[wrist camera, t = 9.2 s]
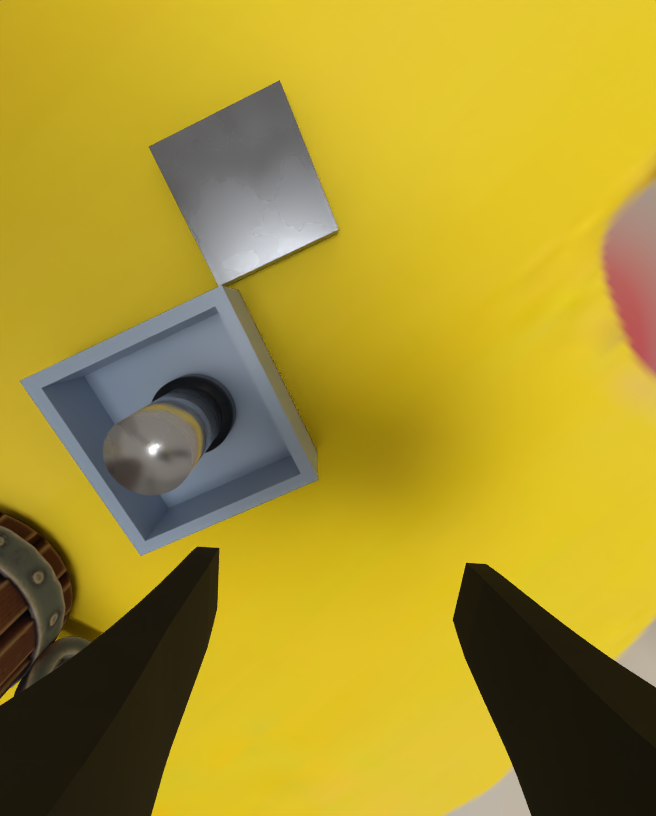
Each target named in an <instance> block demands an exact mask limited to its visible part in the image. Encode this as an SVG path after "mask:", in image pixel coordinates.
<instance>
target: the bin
mask: <svg viewBox="0 0 656 816" xmlns="http://www.w3.org/2000/svg"><path fill="white" fill-rule="evenodd" d="M187 374H203V375H207V376H210V377H213V378H214V379H216V380H218V381H219V382H221V383H222V384H223V385H224V386H225V387H226V388H227V389H228V390H229V392H230V393H231V395H232V397H233V399H234V402H235V406H236V419H235V423H234V425H233V427H232V429H231V431H230V433H229V434H228V436H227V437H226V439H225V440H224V441H223V442H222V443H221V444H220V445H219V446H218V447H217V448H215V449H214V450H212V451H209V452H207V453H204V454H203V456H202V457H201V458H200V460H199V461H198V463H197V464H196V465H195V467H194V468H193V469H192V471H191V472H190V473H189V475H188V476H187V478H186V479H185V480H184V482H183V483H182V484H181V485H180V486H178V487H177V488H176V489H174V490H172V491H170V492H168V493H165V494H161V495H143V494H138V493H135V492H133V491H130V490H128V489H126V488H125V487H123V486H122V485H120V484H119V483H118V482H117V481H116V480H115V479H114V478H113V477H112V476H111V474H110V473H109V471H108V469H107V467H106V465H105V462H104V458H103V444H104V440H105V438H106V435H107V433H108V432H109V430H110V429H111V428H112V427H113V426H114V425H115V424H116V423H118V422H119V421H121V420H123V419H124V418H126V417H128V416H130V415H131V414H133V413H135V412H136V411H138V410H140V409H142V408H143V407H145V406H147V405H148V404H150V403H151V402H152V400H153V398H154V396H155V394H156V393H157V391H158V390H159V389H160V388H161V387H162V386H164V385H165V384H167V383H168V382H170V381H172V380H174V379H176V378H178V377H181V376H183V375H187ZM20 382H21V384H22V385H23V387H24V388H25V390H26V391H27V392H28V394H29V395H30V397H31V398H32V400H33V401H34V403H35V404H36V405H37V407H38V408H39V410H40V411H41V413H42V414H43V416H44V417H45V418H46V420H47V421H48V423H49V424H50V426H51V427H52V429H53V430H54V431H55V433H56V434H57V436H58V437H59V439H60V440H61V441H62V443H63V444H64V446H65V447H66V449H67V450H68V452H69V453H70V454H71V456H72V457H73V459H74V460H75V462H76V463H77V465H78V466H79V467H80V469H81V470H82V472H83V473H84V475H85V476H86V478H87V479H88V480H89V482H90V483H91V485H92V486H93V488H94V489H95V491H96V492H97V493H98V495H99V496H100V498H101V499H102V501H103V502H104V504H105V505H106V506H107V508H108V509H109V511H110V512H111V514H112V515H113V517H114V518H115V519H116V521H117V522H118V524H119V525H120V527H121V528H122V530H123V531H124V532H125V534H126V535H127V537H128V538H129V540H130V541H131V543H132V544H133V545H134V547H135V548H136V550H137V551H138V553H139V554H140V555H141V556H142V555H144V554H146V553H149V552H151V551H153V550H156V549H158V548H160V547H163V546H165V545H167V544H170V543H172V542H174V541H177V540H179V539H181V538H184V537H186V536H188V535H191V534H193V533H195V532H198V531H200V530H202V529H205V528H207V527H209V526H211V525H214V524H216V523H218V522H221V521H223V520H225V519H228V518H230V517H232V516H235V515H237V514H239V513H242V512H244V511H246V510H249V509H251V508H253V507H256V506H258V505H260V504H263V503H265V502H267V501H270V500H272V499H274V498H277V497H279V496H281V495H284V494H286V493H288V492H291V491H293V490H295V489H298V488H300V487H302V486H305V485H307V484H309V483H312V482H314V481H316V480H318V463H317V450H316V448H315V446H314V444H313V442H312V440H311V438H310V436H309V434H308V432H307V430H306V428H305V426H304V424H303V422H302V420H301V417H300V415H299V413H298V411H297V409H296V407H295V405H294V403H293V401H292V399H291V397H290V395H289V393H288V391H287V389H286V387H285V385H284V383H283V381H282V378H281V376H280V374H279V372H278V370H277V368H276V366H275V364H274V362H273V360H272V358H271V356H270V354H269V352H268V350H267V348H266V346H265V344H264V342H263V340H262V337H261V335H260V333H259V331H258V329H257V327H256V325H255V323H254V321H253V319H252V317H251V315H250V313H249V311H248V309H247V307H246V305H245V303H244V301H243V298H242V296H241V294H240V292H239V290H236V289H232V288H229V287H226V286H222V285H221V286H219V287H217V288H215V289H213V290H211V291H209V292H206V293H204V294H202V295H200V296H198V297H196V298H194V299H192V300H190V301H187V302H185V303H183V304H181V305H179V306H177V307H175V308H173V309H171V310H168V311H166V312H164V313H162V314H160V315H158V316H156V317H154V318H152V319H149V320H147V321H145V322H143V323H141V324H139V325H137V326H135V327H133V328H131V329H128V330H126V331H124V332H122V333H120V334H118V335H116V336H114V337H112V338H109V339H107V340H105V341H103V342H101V343H99V344H97V345H95V346H93V347H90V348H88V349H86V350H84V351H82V352H80V353H78V354H76V355H74V356H71V357H69V358H67V359H65V360H63V361H61V362H59V363H57V364H55V365H53V366H50V367H48V368H46V369H44V370H42V371H40V372H38V373H36V374H34V375H31V376H29V377H27V378H25V379H23V380H21V381H20Z"/></svg>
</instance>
